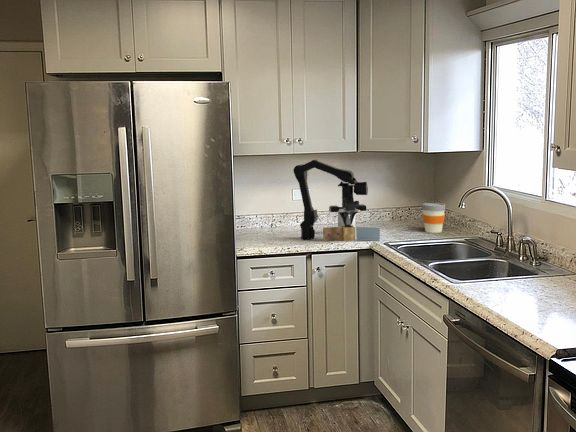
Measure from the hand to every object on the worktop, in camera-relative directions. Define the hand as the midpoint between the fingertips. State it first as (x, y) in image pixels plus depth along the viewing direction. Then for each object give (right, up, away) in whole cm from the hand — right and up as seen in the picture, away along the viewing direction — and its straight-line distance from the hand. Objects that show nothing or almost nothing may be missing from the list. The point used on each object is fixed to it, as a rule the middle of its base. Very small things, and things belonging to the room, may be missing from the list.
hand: (347, 224), depth 322 cm
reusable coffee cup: (+49, -4, +19) cm, 53 cm away
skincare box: (+1, -6, +17) cm, 18 cm away
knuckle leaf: (-5, -8, +1) cm, 9 cm away
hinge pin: (0, -3, 0) cm, 3 cm away
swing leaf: (+10, -8, -2) cm, 13 cm away
